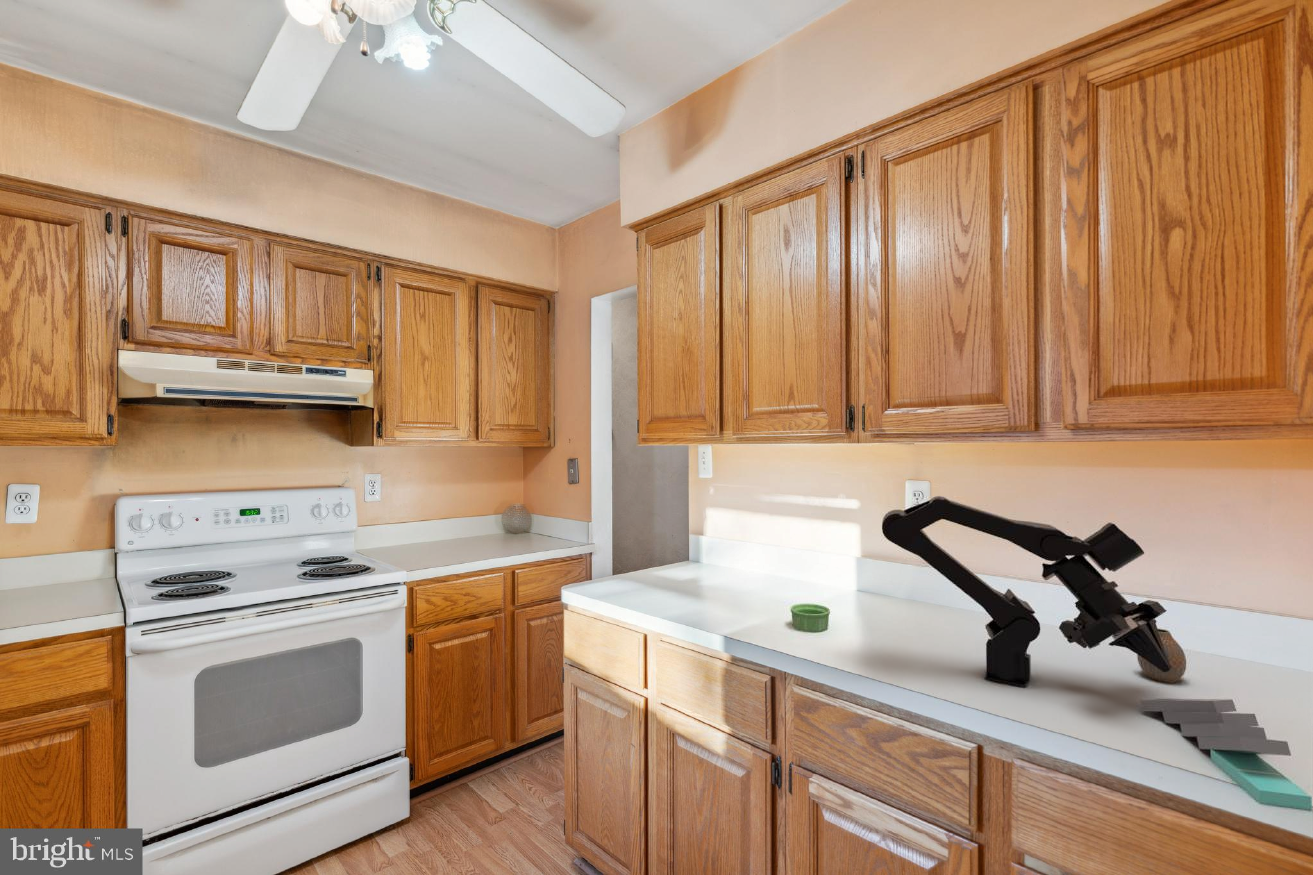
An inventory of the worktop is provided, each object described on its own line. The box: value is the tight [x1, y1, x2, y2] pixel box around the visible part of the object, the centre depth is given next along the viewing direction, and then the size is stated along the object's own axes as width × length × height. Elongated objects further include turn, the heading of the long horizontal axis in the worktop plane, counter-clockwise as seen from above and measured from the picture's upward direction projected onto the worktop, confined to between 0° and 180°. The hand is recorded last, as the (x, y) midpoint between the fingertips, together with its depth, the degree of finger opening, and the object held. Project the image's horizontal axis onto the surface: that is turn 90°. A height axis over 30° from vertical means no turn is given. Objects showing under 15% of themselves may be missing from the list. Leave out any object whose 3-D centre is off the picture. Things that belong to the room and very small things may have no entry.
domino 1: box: [1139, 698, 1237, 713], centre depth 93 cm, size 2×5×10 cm
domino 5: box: [1210, 749, 1313, 811], centre depth 78 cm, size 2×5×10 cm
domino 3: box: [1179, 723, 1268, 739], centre depth 85 cm, size 2×5×10 cm
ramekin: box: [790, 603, 831, 633], centre depth 142 cm, size 9×9×4 cm
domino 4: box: [1196, 736, 1292, 757], centre depth 81 cm, size 2×5×10 cm
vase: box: [1136, 627, 1187, 683], centre depth 111 cm, size 7×7×9 cm
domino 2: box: [1161, 711, 1259, 727], centre depth 89 cm, size 2×5×10 cm
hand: (1168, 670), depth 96 cm, fingers closed
